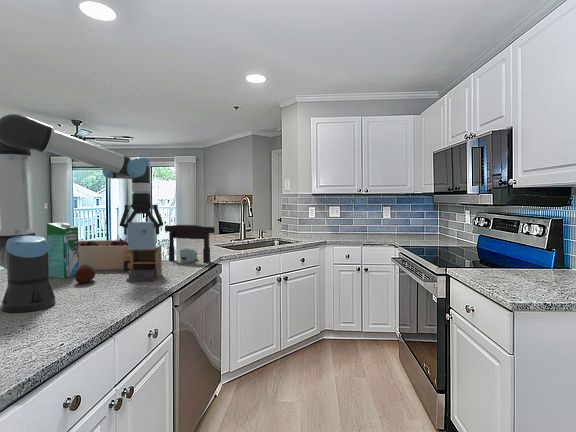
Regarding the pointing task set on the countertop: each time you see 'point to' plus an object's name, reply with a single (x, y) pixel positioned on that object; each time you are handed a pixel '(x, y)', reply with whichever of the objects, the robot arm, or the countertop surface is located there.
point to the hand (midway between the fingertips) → (142, 242)
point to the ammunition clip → (126, 262)
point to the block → (141, 235)
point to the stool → (189, 233)
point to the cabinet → (145, 264)
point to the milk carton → (62, 249)
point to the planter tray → (102, 255)
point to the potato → (84, 274)
